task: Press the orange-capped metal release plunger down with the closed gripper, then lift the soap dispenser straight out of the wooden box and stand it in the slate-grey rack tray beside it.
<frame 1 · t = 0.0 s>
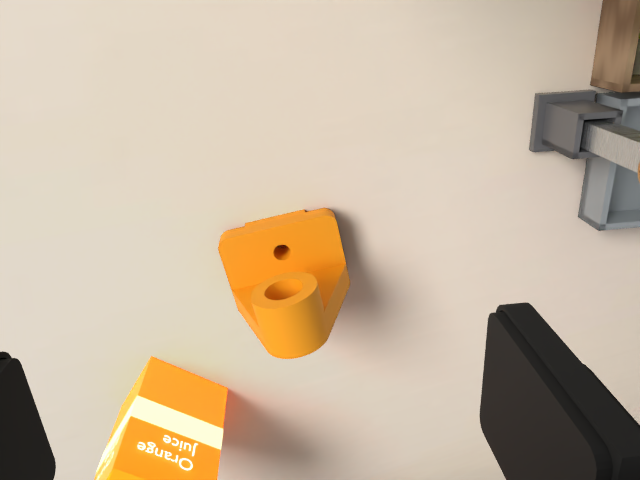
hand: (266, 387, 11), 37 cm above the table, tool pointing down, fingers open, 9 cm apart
orange juice: (174, 396, 56), on the table
bracket: (284, 249, 50), on the table
plunger collar: (559, 120, 47), on the table
release plunger: (622, 145, 38), point 9 cm above the table, slide at 0.0 cm
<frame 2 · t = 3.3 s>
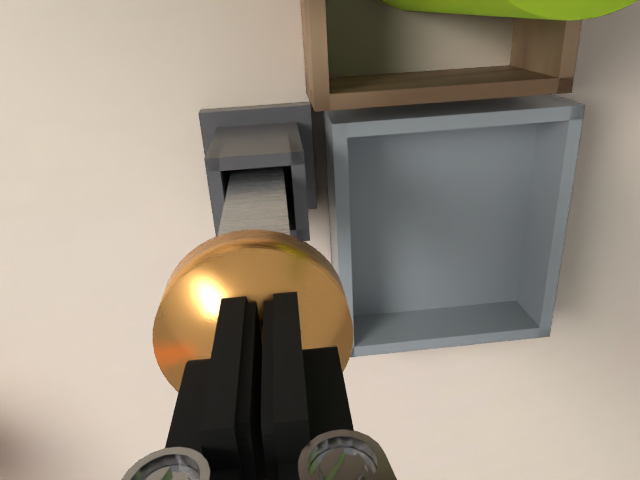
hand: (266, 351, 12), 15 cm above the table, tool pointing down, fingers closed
plunger collar: (260, 158, 25), on the table
release plunger: (258, 229, 17), point 9 cm above the table, slide at 0.6 cm, touching gripper
rack tray: (431, 214, 27), on the table
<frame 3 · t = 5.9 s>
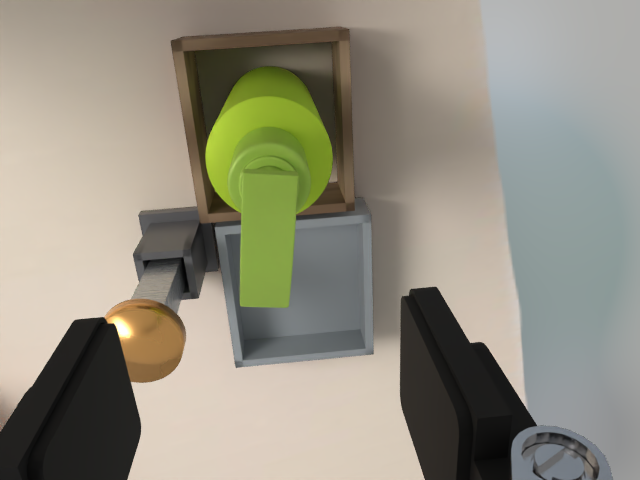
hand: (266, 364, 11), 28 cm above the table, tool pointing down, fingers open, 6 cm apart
wooden box: (270, 118, 36), on the table
soap dispenser: (270, 117, 37), resting in wooden box
plunger collar: (181, 239, 39), on the table
release plunger: (162, 288, 33), point 8 cm above the table, slide at 1.8 cm
rack tray: (297, 273, 41), on the table
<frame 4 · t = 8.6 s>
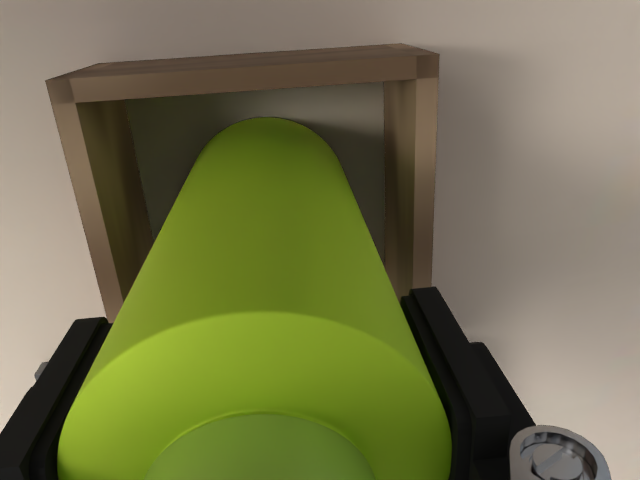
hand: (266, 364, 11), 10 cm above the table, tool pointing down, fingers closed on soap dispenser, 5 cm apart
wooden box: (268, 208, 20), on the table
soap dispenser: (268, 206, 20), resting in wooden box, touching gripper
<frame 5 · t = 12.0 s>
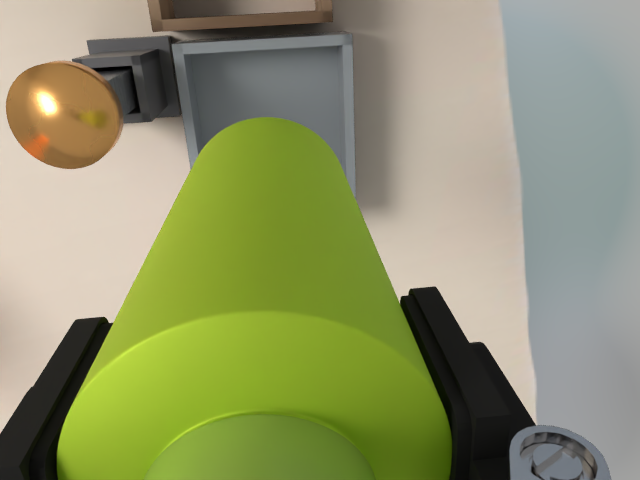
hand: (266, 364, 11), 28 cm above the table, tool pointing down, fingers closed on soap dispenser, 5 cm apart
soap dispenser: (268, 206, 20), point 18 cm above the table, touching gripper
plunger collar: (137, 78, 35), on the table
release plunger: (104, 95, 28), point 8 cm above the table, slide at 1.8 cm
rack tray: (271, 125, 37), on the table
when the fingers open (12 cm above the table, at t = 15.5 s): soap dispenser drops 1 cm, resting on rack tray.
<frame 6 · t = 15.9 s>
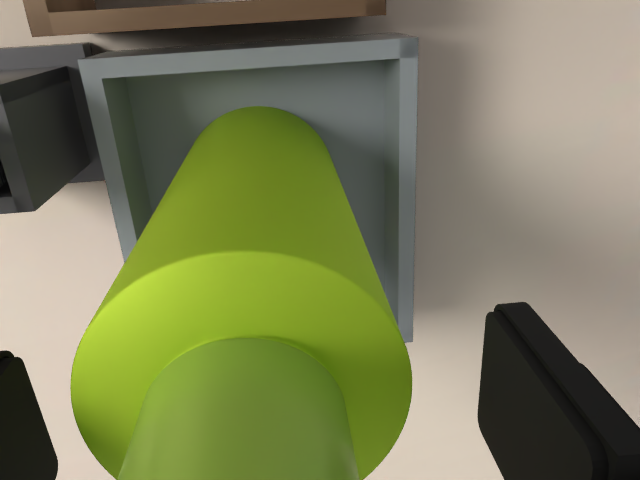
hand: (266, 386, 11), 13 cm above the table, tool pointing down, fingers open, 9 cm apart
soap dispenser: (260, 191, 21), point 1 cm above the table, touching rack tray
plunger collar: (38, 116, 20), on the table
rack tray: (269, 190, 22), on the table
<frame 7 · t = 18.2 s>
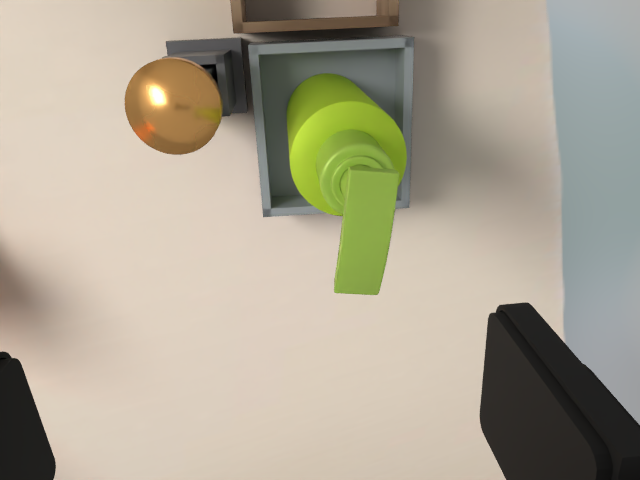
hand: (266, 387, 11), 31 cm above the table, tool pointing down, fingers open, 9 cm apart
soap dispenser: (326, 121, 39), point 1 cm above the table, touching rack tray
plunger collar: (209, 76, 37), on the table
release plunger: (193, 90, 30), point 8 cm above the table, slide at 1.8 cm
rack tray: (329, 122, 39), on the table
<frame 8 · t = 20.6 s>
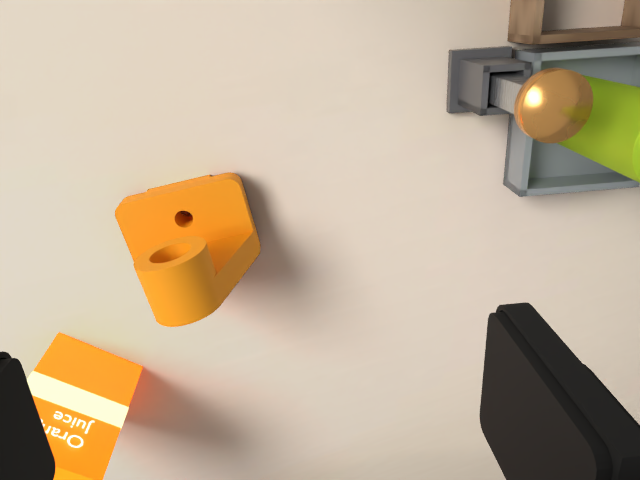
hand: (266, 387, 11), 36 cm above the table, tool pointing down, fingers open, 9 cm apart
soap dispenser: (568, 115, 46), point 1 cm above the table, touching rack tray
orange juice: (88, 375, 53), on the table
bracket: (192, 218, 48), on the table
plunger collar: (476, 79, 44), on the table
release plunger: (514, 92, 38), point 8 cm above the table, slide at 1.8 cm
rack tray: (568, 116, 46), on the table
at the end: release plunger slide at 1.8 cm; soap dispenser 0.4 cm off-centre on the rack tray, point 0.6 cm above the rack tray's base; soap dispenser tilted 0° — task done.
